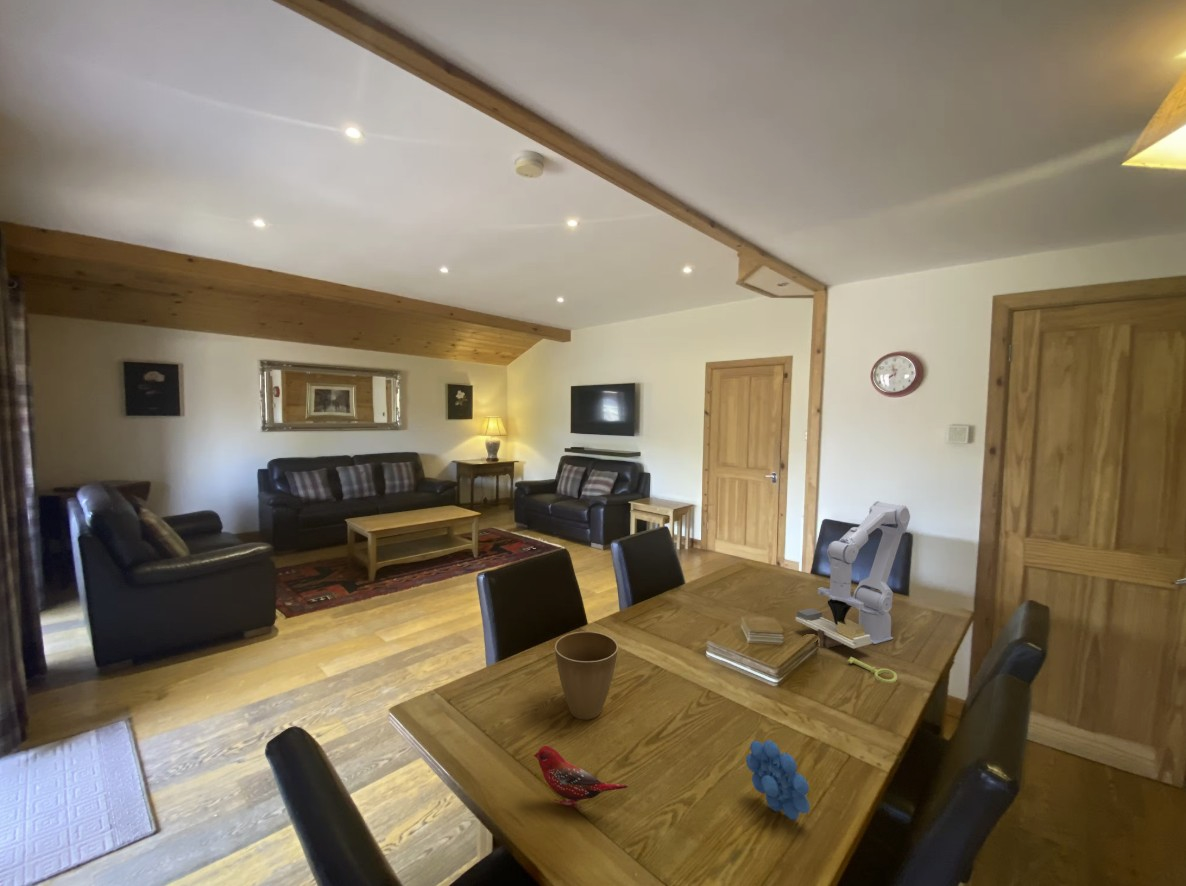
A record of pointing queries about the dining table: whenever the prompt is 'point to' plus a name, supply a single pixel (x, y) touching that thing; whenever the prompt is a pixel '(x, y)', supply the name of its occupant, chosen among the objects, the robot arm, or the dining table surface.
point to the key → (875, 671)
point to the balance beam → (829, 628)
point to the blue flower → (778, 779)
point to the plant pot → (586, 671)
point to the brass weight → (850, 629)
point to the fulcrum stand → (827, 640)
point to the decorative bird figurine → (570, 778)
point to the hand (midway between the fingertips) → (838, 624)
